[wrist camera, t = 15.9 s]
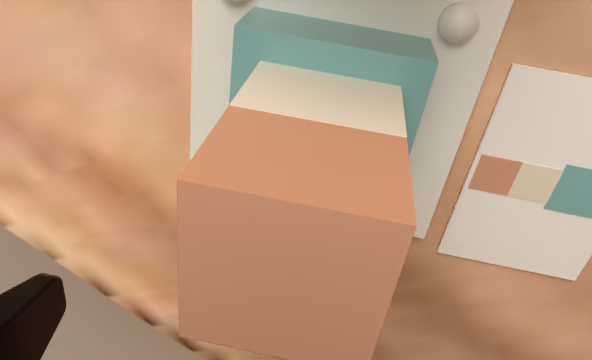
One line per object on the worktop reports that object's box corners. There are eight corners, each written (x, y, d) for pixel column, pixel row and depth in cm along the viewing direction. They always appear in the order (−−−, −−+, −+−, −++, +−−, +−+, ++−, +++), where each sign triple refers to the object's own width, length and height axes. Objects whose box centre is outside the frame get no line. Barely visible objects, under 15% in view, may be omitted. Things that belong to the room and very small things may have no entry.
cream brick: (401, 85, 16) (407, 137, 13) (370, 202, 19) (368, 270, 15) (260, 60, 16) (229, 104, 13) (249, 179, 19) (221, 240, 16)
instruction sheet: (691, 95, 18) (694, 98, 18) (573, 278, 24) (575, 281, 23) (512, 63, 19) (513, 64, 18) (436, 250, 24) (437, 253, 24)
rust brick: (406, 137, 13) (417, 226, 9) (368, 270, 15) (365, 376, 12) (229, 104, 13) (177, 180, 10) (221, 241, 16) (178, 336, 12)
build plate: (516, -22, 17) (546, -3, 14) (423, 231, 24) (429, 281, 20) (199, -77, 18) (162, -70, 15) (193, 184, 24) (166, 226, 21)
